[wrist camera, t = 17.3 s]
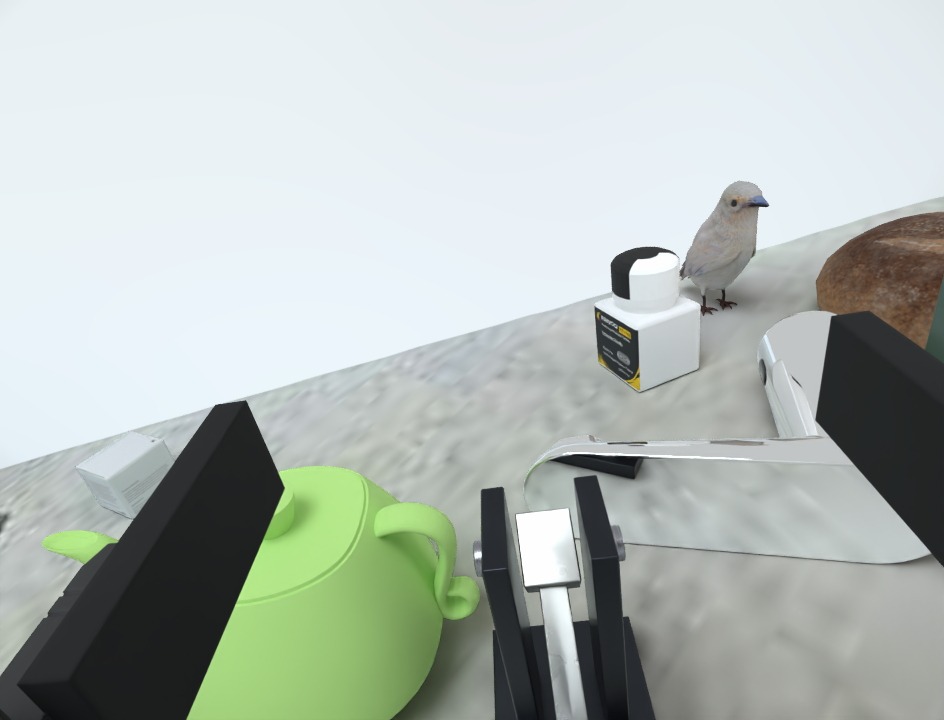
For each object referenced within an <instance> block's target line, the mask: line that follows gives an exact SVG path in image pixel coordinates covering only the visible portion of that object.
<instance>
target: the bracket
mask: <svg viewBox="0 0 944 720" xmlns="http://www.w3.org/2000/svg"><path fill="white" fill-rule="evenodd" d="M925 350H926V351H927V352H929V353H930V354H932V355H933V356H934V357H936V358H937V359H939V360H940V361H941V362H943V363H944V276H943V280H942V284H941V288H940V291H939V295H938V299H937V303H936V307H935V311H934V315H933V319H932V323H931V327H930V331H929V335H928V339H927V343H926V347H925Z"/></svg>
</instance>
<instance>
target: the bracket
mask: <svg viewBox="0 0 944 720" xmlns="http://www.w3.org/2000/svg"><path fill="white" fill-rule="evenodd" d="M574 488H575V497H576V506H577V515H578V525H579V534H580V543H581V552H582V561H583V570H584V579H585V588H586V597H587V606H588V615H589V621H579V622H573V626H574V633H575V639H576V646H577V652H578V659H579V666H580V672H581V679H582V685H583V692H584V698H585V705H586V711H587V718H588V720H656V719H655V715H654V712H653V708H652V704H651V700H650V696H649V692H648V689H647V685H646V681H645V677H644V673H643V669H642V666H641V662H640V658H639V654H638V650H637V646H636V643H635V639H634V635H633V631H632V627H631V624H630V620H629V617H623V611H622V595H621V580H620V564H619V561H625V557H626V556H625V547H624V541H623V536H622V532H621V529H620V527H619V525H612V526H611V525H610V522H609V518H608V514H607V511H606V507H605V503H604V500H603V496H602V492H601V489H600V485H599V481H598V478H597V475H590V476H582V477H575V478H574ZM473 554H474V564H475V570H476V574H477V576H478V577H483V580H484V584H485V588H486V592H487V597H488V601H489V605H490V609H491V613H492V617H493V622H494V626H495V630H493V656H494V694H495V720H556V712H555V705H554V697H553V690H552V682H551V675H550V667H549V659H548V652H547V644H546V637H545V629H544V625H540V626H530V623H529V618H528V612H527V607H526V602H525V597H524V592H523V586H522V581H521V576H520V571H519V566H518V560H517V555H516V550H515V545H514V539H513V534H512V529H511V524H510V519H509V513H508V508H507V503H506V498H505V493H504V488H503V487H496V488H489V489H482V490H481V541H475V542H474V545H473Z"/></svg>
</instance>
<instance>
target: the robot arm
mask: <svg viewBox="0 0 944 720" xmlns="http://www.w3.org/2000/svg"><path fill="white" fill-rule="evenodd" d="M815 421H816V422H817V423H818V424H819V425H820V426H821V427H822V429H823V430H824V431H825V432H826V433H827V434H828V435H829V437H830V438H831V439H832V440H833V441H834V442H835V443H836V445H837V446H838V447H839V448H840V449H841V450H842V451H843V453H844V454H845V455H846V456H847V457H848V458H849V459H850V461H851V462H852V463H853V464H854V465H855V466H856V467H857V469H858V470H859V471H860V472H861V473H862V474H863V475H864V477H865V478H866V479H867V480H868V481H869V482H870V483H871V485H872V486H873V487H874V488H875V489H876V490H877V491H878V493H879V494H880V495H881V496H882V497H883V498H884V499H885V501H886V502H887V503H888V504H889V505H890V506H891V507H892V509H893V510H894V511H895V512H896V513H897V514H898V515H899V517H900V518H901V519H902V520H903V521H904V522H905V523H906V525H907V526H908V527H909V528H910V529H911V530H912V531H913V533H914V534H915V535H916V536H917V537H918V538H919V539H920V541H921V542H922V543H923V544H924V545H925V546H926V547H927V549H928V550H929V551H930V552H931V553H932V554H933V555H934V557H935V558H936V559H937V560H938V561H939V562H940V563H941V565H942V566H943V567H944V363H943V362H941V361H940V360H939V359H937V358H936V357H934V356H933V355H932V354H930V353H929V352H927V351H926V350H924V349H923V348H922V347H920V346H919V345H917V344H916V343H914V342H913V341H912V340H910V339H909V338H907V337H906V336H905V335H903V334H902V333H900V332H899V331H897V330H896V329H895V328H893V327H892V326H890V325H889V324H887V323H886V322H885V321H883V320H882V319H880V318H879V317H878V316H876V315H875V314H873V313H872V312H870V311H862V312H855V313H848V314H841V315H834V316H831V320H830V327H829V333H828V340H827V346H826V353H825V359H824V366H823V372H822V379H821V385H820V392H819V398H818V405H817V411H816V418H815ZM284 490H285V487H284V484H283V482H282V480H281V478H280V475H279V473H278V471H277V469H276V466H275V464H274V462H273V460H272V457H271V455H270V453H269V451H268V448H267V446H266V444H265V442H264V439H263V437H262V435H261V433H260V430H259V428H258V426H257V424H256V421H255V419H254V417H253V415H252V412H251V410H250V408H249V406H248V403H247V401H239V402H232V403H225V404H218V405H215V406H214V408H213V409H212V410H211V412H210V413H209V415H208V416H207V417H206V419H205V420H204V422H203V423H202V424H201V426H200V427H199V429H198V430H197V431H196V433H195V434H194V436H193V437H192V438H191V440H190V441H189V443H188V444H187V445H186V447H185V448H184V450H183V451H182V453H181V454H180V455H179V457H178V458H177V460H176V461H175V462H174V464H173V465H172V467H171V468H170V469H169V471H168V472H167V474H166V475H165V476H164V478H163V479H162V481H161V482H160V483H159V485H158V486H157V488H156V489H155V490H154V492H153V493H152V495H151V496H150V497H149V499H148V500H147V502H146V503H145V505H144V506H143V507H142V509H141V510H140V512H139V513H138V514H137V516H136V517H135V519H134V520H133V521H132V523H131V524H130V526H129V527H128V528H127V530H126V531H125V533H124V534H123V535H122V537H121V538H120V540H119V541H118V542H117V543H109V544H107V545H106V546H105V547H104V548H103V549H101V550H100V551H99V552H98V553H97V554H96V555H95V556H94V557H92V558H91V559H90V560H89V561H88V562H87V563H86V564H84V565H83V566H82V567H81V569H80V570H79V571H78V573H77V574H76V575H75V577H74V578H73V579H72V581H71V582H70V583H69V585H68V586H67V587H66V589H65V590H64V591H63V593H64V595H63V597H59V598H58V600H57V601H56V602H55V604H54V605H53V606H52V608H51V609H50V610H49V612H48V617H47V618H43V620H42V621H41V622H40V624H39V625H38V626H37V628H36V629H35V630H34V632H33V633H32V634H31V636H30V637H29V638H28V640H27V641H26V642H25V644H24V645H23V646H22V648H21V649H20V650H19V652H18V653H17V654H16V656H15V657H14V658H13V660H12V661H11V663H10V664H9V665H8V667H7V668H6V669H5V671H4V672H3V673H2V675H1V676H0V720H187V717H188V715H189V713H190V710H191V708H192V706H193V703H194V701H195V699H196V696H197V694H198V692H199V689H200V687H201V685H202V682H203V680H204V678H205V675H206V673H207V670H208V668H209V666H210V663H211V661H212V659H213V656H214V654H215V652H216V649H217V647H218V645H219V642H220V640H221V638H222V635H223V633H224V631H225V628H226V626H227V624H228V621H229V619H230V617H231V614H232V612H233V610H234V607H235V605H236V602H237V600H238V598H239V595H240V593H241V591H242V588H243V586H244V584H245V581H246V579H247V577H248V574H249V572H250V570H251V567H252V565H253V563H254V560H255V558H256V556H257V553H258V551H259V549H260V546H261V544H262V541H263V539H264V537H265V534H266V532H267V530H268V527H269V525H270V523H271V520H272V518H273V516H274V513H275V511H276V509H277V506H278V504H279V502H280V499H281V497H282V495H283V492H284Z"/></svg>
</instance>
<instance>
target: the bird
mask: <svg viewBox="0 0 944 720" xmlns="http://www.w3.org/2000/svg"><path fill="white" fill-rule="evenodd" d="M768 206H769V204H768V203H767V201H766V200H765V199H764V198H763V196H762V191H761V190H760V189H759V188H758V186H756V185H755V184H753V183H750V182H743V181H737V182H734V183H733V184H731V185H729V186H728V187H727V188H726V189H725V191H724V192H723V194H722V196H721V198H720V201H719V203H718V204H717V206H716V208H715V210H714V211H713V213H712V214H711V215H710V217H709V218H708V219H707V220H706V221H705V222H704V223H703V224H702V226H701V227H700V229H699V230H698V232H697V234H696V236H695V238H694V241H693V244H692V246H691V247H690V249H689V251H688V253H687V256H686V260H685V262H684V263H683V265H682V266H683V267H682V268H681V270H680V271H679V273H680V274H679V277H680V276H682V279H681V280H683V279H684V278H685V277H687V276H689V277H688V278H691V280H692V281H693V282H694V283H695V284H696V285H697V286H699V287H700V291H701V295H702V297H703V306H702V305H700V306H701V311H702V313H703V316H704V313H705V312H706V311H707V312H710V313H711V314H712V312H711V311H710V310H713V309H714V308H711V307H709V308H707V307H705V305H706V298H705V293H706V290H707V289H710V290H717V289H721V290H722V294H723V297H722V300H720V299H716V300H718V301H719V302H720V305H721V306H722V309H724V306H726V305H727V306H729V307H730V308H731V309H732V307H731V306H730V305H729V304H736V303H734V302H726V301H725V290H724V289H725V287H727V286H728V285H730V284H731V283H732V282H733V281H734V279H735V278H736V277H737V276H738V275H739V274H740V273H741V272H742V271H743V269H744V268H745V266H746V265H747V264H748V262H749V261H750V259H751V258H752V257H753V256H755V253H756V234H757V218H758V208H759V207H768ZM736 305H737V304H736ZM714 310H717V309H714ZM717 311H718V310H717Z"/></svg>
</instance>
